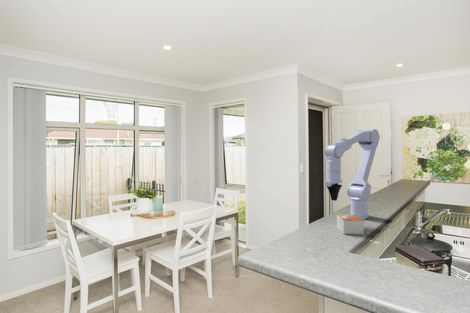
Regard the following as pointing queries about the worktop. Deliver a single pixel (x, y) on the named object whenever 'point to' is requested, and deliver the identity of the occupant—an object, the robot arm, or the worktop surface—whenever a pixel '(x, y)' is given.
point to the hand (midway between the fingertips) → (334, 200)
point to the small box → (350, 224)
